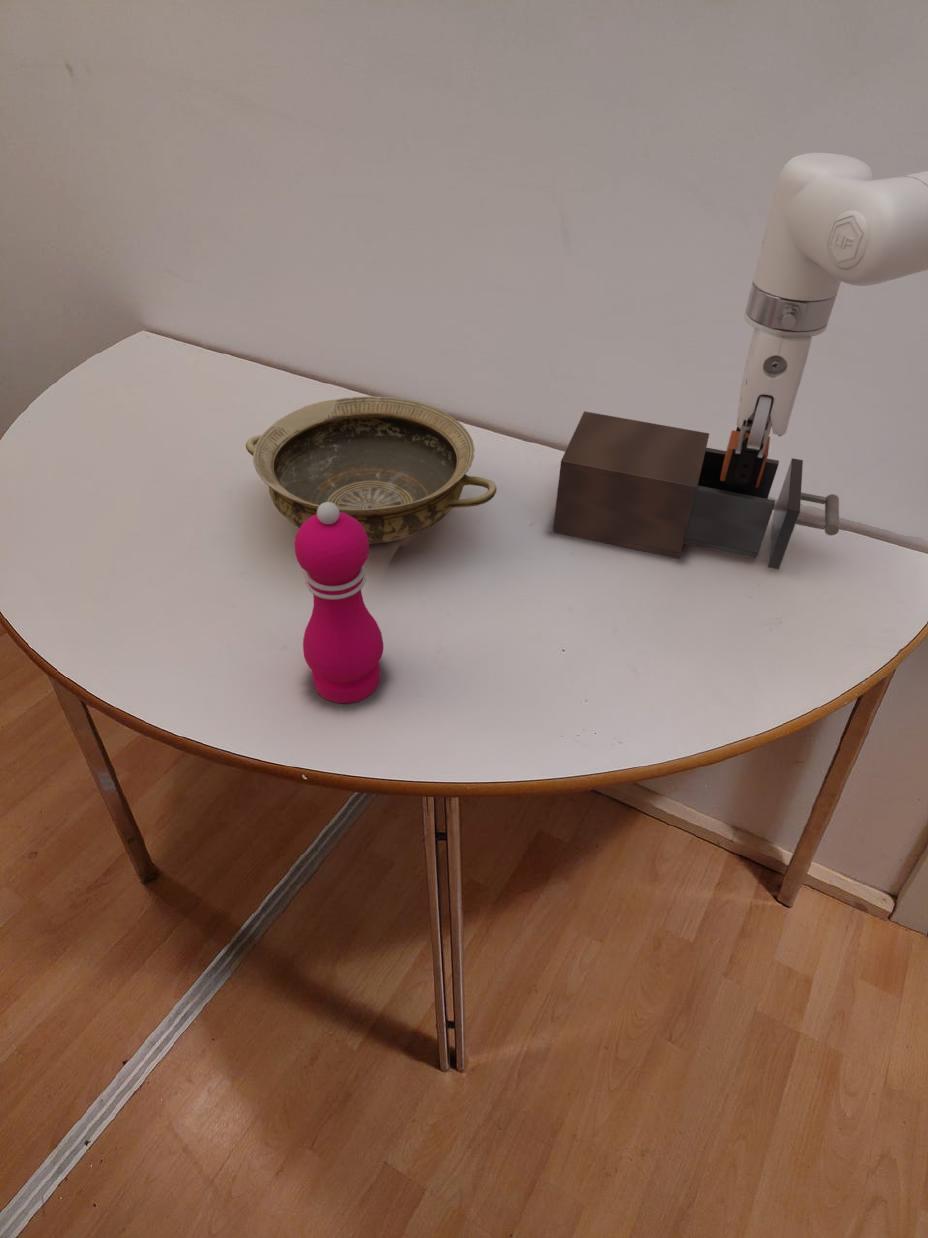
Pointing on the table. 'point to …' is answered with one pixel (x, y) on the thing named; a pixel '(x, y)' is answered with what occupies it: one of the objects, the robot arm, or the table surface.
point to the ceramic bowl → (369, 464)
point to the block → (733, 445)
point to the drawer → (751, 511)
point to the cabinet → (629, 483)
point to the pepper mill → (338, 606)
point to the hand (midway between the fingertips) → (741, 472)
